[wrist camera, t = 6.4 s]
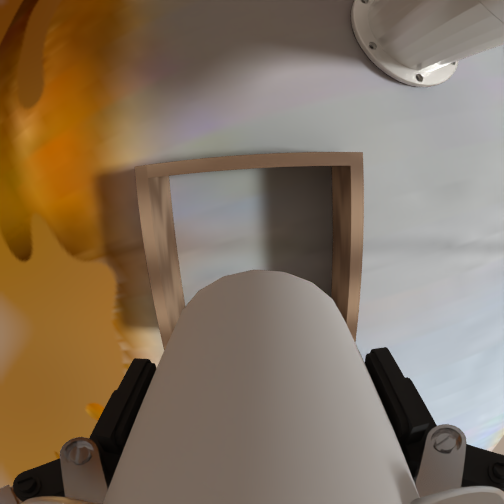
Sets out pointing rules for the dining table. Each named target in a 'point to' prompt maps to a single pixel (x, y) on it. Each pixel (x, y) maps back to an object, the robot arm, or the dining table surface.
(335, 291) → the crate
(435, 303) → the dining table surface
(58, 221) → the dining table surface
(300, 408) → the can
